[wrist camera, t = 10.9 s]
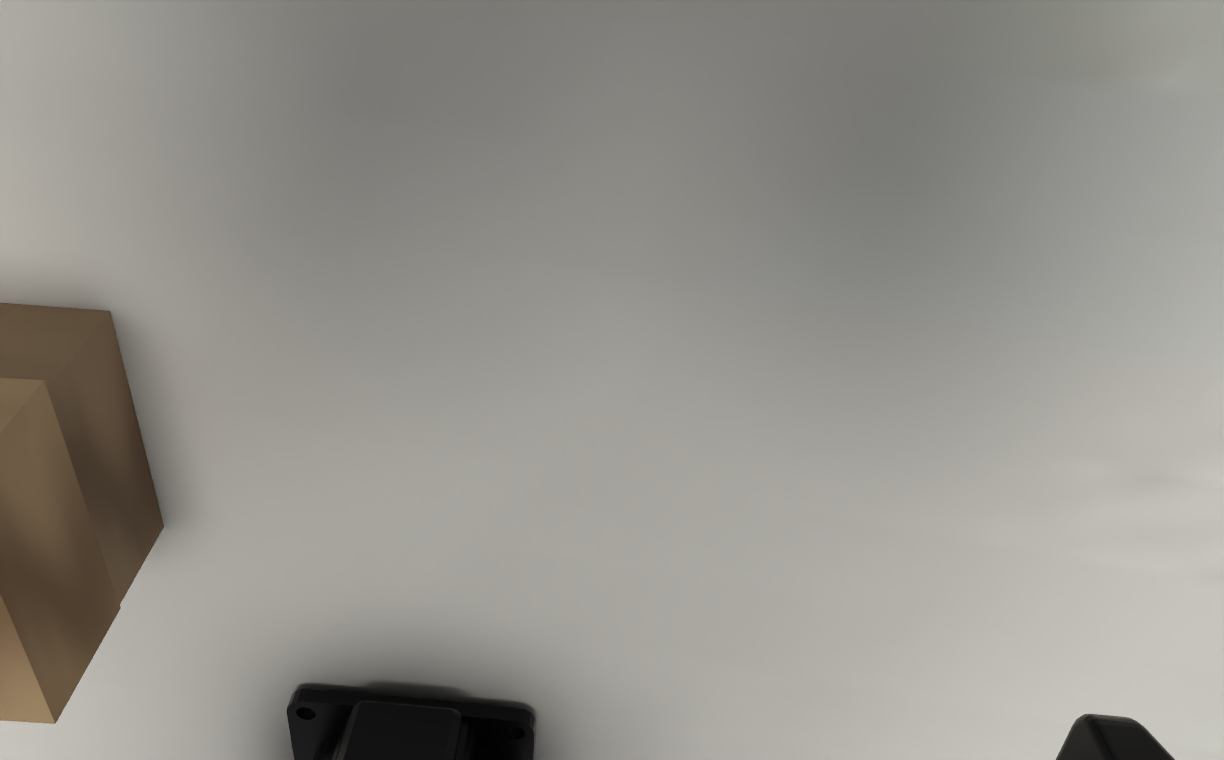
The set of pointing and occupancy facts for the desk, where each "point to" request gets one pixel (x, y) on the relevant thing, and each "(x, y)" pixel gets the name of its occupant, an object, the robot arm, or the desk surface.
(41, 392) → the brown square block
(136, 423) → the block
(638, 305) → the desk surface
